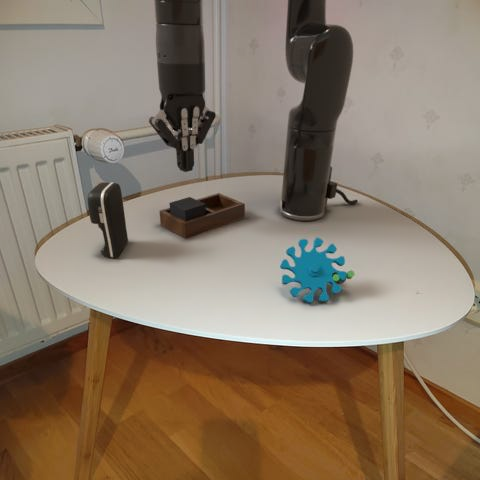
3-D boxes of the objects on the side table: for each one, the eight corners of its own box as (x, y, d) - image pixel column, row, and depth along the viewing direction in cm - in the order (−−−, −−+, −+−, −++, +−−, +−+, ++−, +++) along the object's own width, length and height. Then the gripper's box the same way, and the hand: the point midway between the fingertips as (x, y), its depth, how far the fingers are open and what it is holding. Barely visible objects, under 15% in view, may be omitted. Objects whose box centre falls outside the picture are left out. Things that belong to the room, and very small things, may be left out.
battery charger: (109, 240, 77) (98, 178, 70) (129, 241, 77) (120, 179, 70) (95, 258, 72) (81, 192, 65) (116, 259, 71) (105, 194, 65)
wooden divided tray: (160, 225, 83) (159, 210, 81) (219, 206, 92) (218, 192, 90) (185, 239, 78) (184, 223, 77) (244, 218, 87) (245, 203, 85)
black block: (190, 215, 85) (189, 196, 83) (206, 223, 82) (206, 203, 80) (170, 222, 82) (169, 202, 80) (186, 230, 80) (185, 210, 77)
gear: (275, 294, 61) (287, 229, 62) (271, 301, 67) (282, 242, 68) (349, 309, 61) (360, 244, 62) (338, 315, 67) (348, 256, 68)
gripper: (159, 63, 60) (168, 183, 70) (227, 59, 68) (226, 168, 78) (131, 58, 64) (143, 172, 75) (198, 55, 72) (201, 159, 82)
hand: (186, 170), depth 76 cm, fingers closed
